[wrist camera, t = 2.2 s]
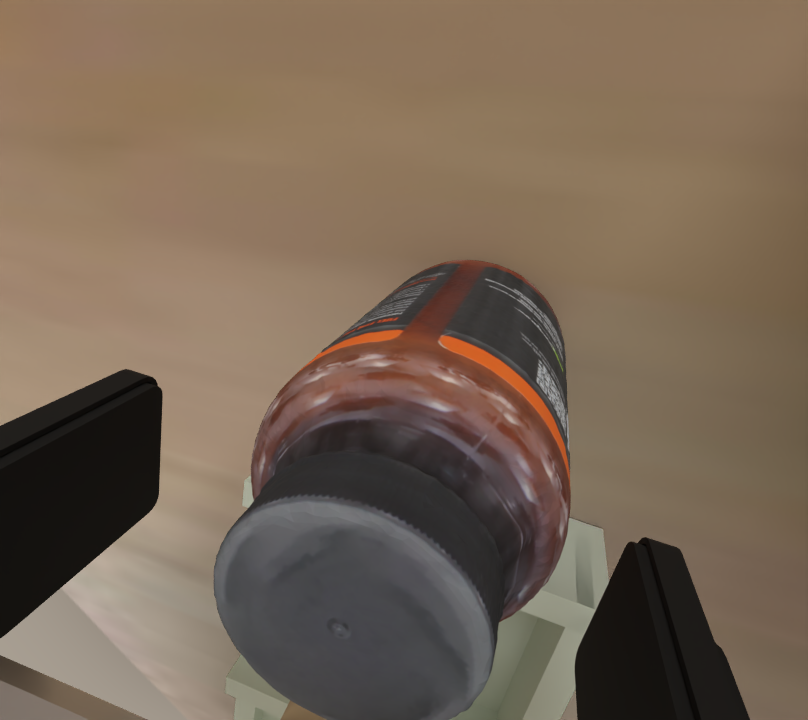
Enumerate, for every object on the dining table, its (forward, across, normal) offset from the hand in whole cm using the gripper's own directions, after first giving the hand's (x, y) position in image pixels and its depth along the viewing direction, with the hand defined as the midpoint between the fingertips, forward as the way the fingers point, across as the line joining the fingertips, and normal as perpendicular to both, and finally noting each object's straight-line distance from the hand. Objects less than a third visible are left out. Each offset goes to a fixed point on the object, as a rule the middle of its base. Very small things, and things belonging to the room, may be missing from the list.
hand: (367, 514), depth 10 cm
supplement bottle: (+8, -1, -1) cm, 8 cm away
